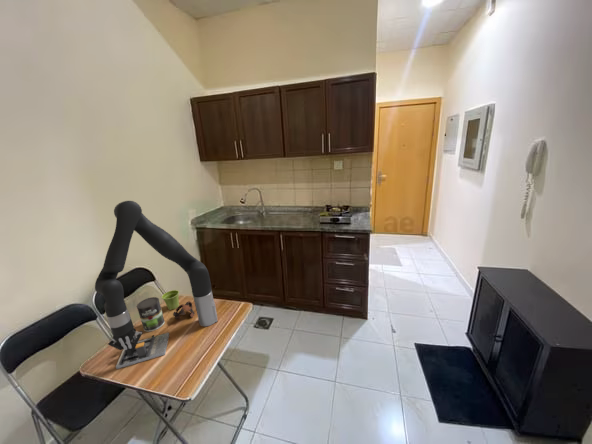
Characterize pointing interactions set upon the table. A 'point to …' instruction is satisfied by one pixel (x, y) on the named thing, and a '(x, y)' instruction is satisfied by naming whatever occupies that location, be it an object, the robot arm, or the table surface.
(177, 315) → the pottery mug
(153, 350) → the breaker panel
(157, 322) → the coffee can
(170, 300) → the plant pot
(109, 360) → the table surface
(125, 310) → the robot arm
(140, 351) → the breaker
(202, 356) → the table surface
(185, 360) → the table surface
